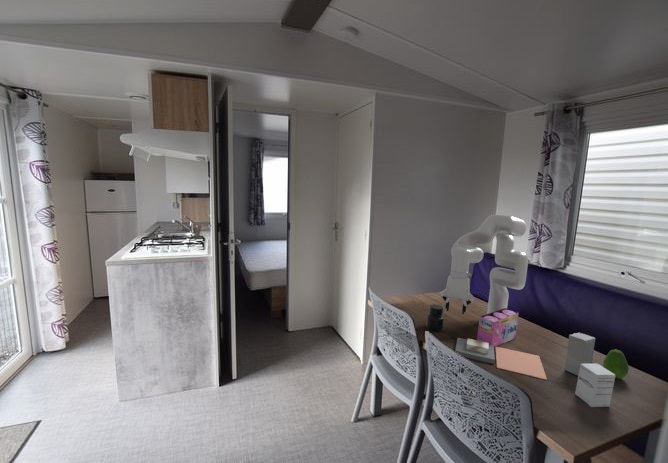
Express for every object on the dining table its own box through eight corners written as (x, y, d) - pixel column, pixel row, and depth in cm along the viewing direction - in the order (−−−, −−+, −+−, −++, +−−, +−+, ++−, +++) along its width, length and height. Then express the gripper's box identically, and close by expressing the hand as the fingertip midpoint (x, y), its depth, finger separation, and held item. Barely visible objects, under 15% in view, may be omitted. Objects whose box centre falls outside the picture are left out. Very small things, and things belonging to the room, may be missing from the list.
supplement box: (574, 394, 123) (579, 363, 121) (592, 393, 123) (598, 362, 122) (591, 407, 116) (597, 374, 114) (610, 407, 116) (616, 374, 114)
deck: (457, 341, 160) (457, 337, 160) (493, 349, 154) (493, 345, 154) (454, 354, 148) (455, 350, 148) (494, 363, 141) (494, 359, 141)
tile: (466, 348, 149) (467, 343, 149) (467, 343, 155) (467, 338, 154) (488, 353, 146) (488, 348, 145) (487, 347, 151) (488, 342, 151)
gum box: (502, 331, 174) (505, 307, 172) (517, 337, 168) (521, 312, 165) (476, 342, 161) (479, 315, 159) (491, 349, 154) (494, 322, 152)
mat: (495, 347, 156) (495, 346, 156) (539, 356, 149) (539, 355, 149) (496, 368, 138) (497, 367, 138) (546, 380, 131) (546, 379, 131)
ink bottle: (442, 325, 178) (444, 304, 176) (445, 332, 170) (448, 310, 168) (423, 323, 179) (425, 303, 177) (426, 331, 170) (428, 309, 169)
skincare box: (581, 378, 133) (587, 342, 131) (562, 369, 140) (567, 334, 137) (591, 373, 137) (598, 338, 135) (573, 364, 143) (578, 330, 141)
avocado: (596, 371, 139) (601, 345, 137) (614, 371, 139) (619, 345, 137) (613, 383, 131) (618, 355, 129) (632, 383, 131) (637, 355, 129)
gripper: (479, 275, 149) (475, 312, 152) (440, 269, 156) (437, 305, 159) (479, 279, 143) (475, 318, 145) (438, 273, 150) (435, 310, 152)
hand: (455, 311), depth 152 cm, fingers open, 6 cm apart
